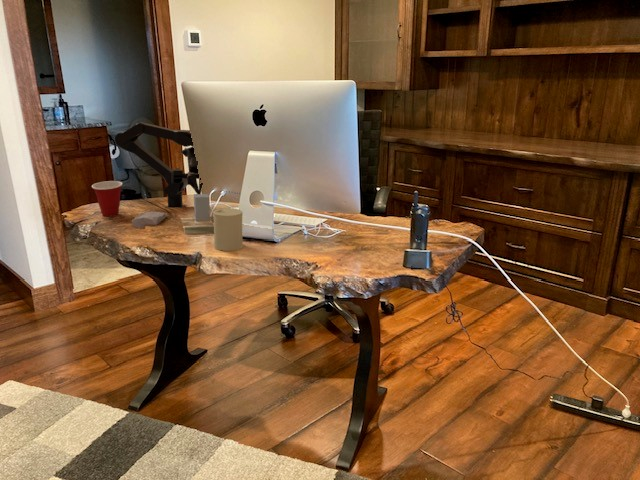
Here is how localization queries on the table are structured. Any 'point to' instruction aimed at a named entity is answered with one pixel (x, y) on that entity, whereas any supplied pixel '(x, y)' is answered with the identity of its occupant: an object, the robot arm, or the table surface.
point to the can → (228, 229)
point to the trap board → (198, 226)
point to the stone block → (148, 219)
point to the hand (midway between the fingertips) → (199, 194)
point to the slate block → (201, 207)
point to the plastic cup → (108, 196)
